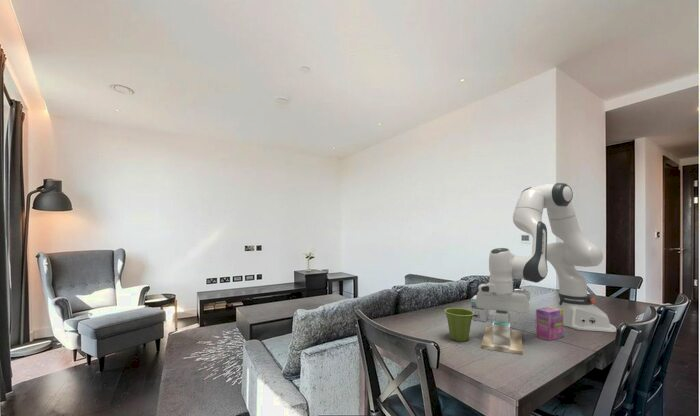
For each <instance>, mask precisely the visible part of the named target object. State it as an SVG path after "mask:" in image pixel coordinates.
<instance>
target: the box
mask: <svg viewBox="0 0 700 416" xmlns="http://www.w3.org/2000/svg"><path fill="white" fill-rule="evenodd" d="M535 318H536V319H535V321H536V322H535V323H536V337H537V338H539V339H542V340H546V341H549V342H551V341H554V340H558V339H561V338H564V337H565V328H564V327H565V326H564V324H563V309H561V308H559V307H555V306H551V305H550V306H545V307H541V308H540V307H539V308H536V309H535Z"/></svg>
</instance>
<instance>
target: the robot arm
mask: <svg viewBox="0 0 700 416" xmlns="http://www.w3.org/2000/svg"><path fill="white" fill-rule="evenodd" d="M573 193H574V192H573V190H572V188H571V186H570V185H568V184H567V183H564V182H556V183H547V184H545V183H544V184H541V185H537V186H536V185H535V186H533V187H530V186H529V187H528V188H524V189H523V190H522V192H521V193H520V195H519V198H518V200H517V202H516V205H515V207H514V212H513V213H512V222H513V224H514V226H516V228H517V229H519V230H520V231H522V232H524V233H526V234H529V235H530V236H531V237H532V245H531V248H532V249H531V254H530V255H529V256H523V255H516V254H514V253H512V252H511V250H510V249H509V248H505V247H499V248H494V249H491V250H490V253H489V257H488V270H489V273H490V274H489V279H488V280H489V282H485V283H481V284H479V285H478V291H477V293H476V295H477V296H476V307H477V308H479V309H485V313H486V314H487V316H488V319H487V321H492V320H493V315H491V314H490V310H491V311H496V310H498V311H508V313H515V314H516V316H515V317H513V318H512V323H513V324H518V319H520V316H521V314H529V313H530V312H531V309H530V303H529V301H530V300H531V293H530V292H529V291H528V290H527V289H523V288H522V289H521V288H520V289H519V288H514V281H513V280H514V279H517V280H525V281H528V282H531V283H540V282H541V281H543V280H544V279H545V278H547V276H548V263H550V265H551V266H552V267H553V269H554V270H555V272H556V275H557V278H558V291H559V292H558V295H557V296H558V297H557V298H558V305H559V307H558V308H561V309H563V324H564V327H568V328H571V329H574V330H580V331H591V332H593V331H594V332H605V333H616V332H617V331H616V330H617V328H616V325H613V324H611V323H610V319H609V317H608V314H607V313H606V312H604V311H603V310H601V308H599V307H597V306H596V305H595V304H596V298H594V297H591V296H589V295H588V283H587V282H588V281H587V279H586V277H585V276H583V275H582V274H581V273H579V272H578V270H577V269H576V267H582V268H583V267H584V268H588V267H590V268H591V267H598V266H599V265H600V264H602V261H603V260H604V254H603V251H602V249H601V248H600V247H599V246H598V245H596V244H594V243H592V242H591V241H590V240H589V239H588V238H587V237H586V236H585V234H584V233H583V232H582V230H581V228H580V225H579V222H578V220H577V217H576V215H577V214H576V212H575V209H574V206H573V204H572V200H573ZM544 209H546V215H547V218H548V222H549V226H550V230H551V233H552V234H553V235H554V236H555V237H557V238H559V239H560V240H561V241H563V242H558V241H556V242H551V243H548V229H547V226H546V224H545V222H543V220H542V218H543V212H544ZM547 262H548V263H547ZM575 266H576V267H575ZM488 311H489V313H488Z"/></svg>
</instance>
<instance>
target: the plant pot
mask: <svg viewBox="0 0 700 416" xmlns="http://www.w3.org/2000/svg"><path fill="white" fill-rule="evenodd" d="M444 313H445V316H446V319H447V324H448V325H447V326H448V330H449V331H448V332H449V338H450V339H451V340H453V341H454V340H455V341H457V342H467V341H469V337H470V331H471V325H472V321H473V320H472V317H473V315H474V312H473V311H472V310H470V309H466V308H460V307H459V308H458V307H449V308H445V309H444Z"/></svg>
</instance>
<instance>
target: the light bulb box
mask: <svg viewBox="0 0 700 416" xmlns="http://www.w3.org/2000/svg"><path fill="white" fill-rule="evenodd" d="M476 296H477V294H475V295H474V296H472V297H471V298H470V299H471V311H473V312H474V315H473V317H472V320H471V321H478V322H484V323H485V322H487V321H488V316H487V314H486V313H485V309H479V308H477V307H476ZM488 313H489V314H490V310H489V311H488Z"/></svg>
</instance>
